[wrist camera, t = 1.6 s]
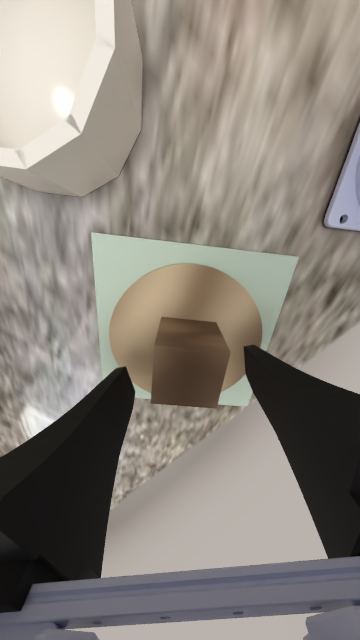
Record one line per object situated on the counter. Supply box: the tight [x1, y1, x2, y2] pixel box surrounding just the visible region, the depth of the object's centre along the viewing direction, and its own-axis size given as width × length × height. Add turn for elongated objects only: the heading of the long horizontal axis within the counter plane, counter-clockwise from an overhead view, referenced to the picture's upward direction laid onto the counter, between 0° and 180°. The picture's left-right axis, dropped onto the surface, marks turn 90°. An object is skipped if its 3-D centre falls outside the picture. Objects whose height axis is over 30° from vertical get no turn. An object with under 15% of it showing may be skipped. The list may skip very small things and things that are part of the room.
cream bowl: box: [0, 0, 143, 197], centre depth 7 cm, size 10×10×4 cm
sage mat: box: [91, 232, 299, 407], centre depth 15 cm, size 14×14×1 cm
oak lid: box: [109, 263, 262, 408], centre depth 12 cm, size 12×12×5 cm
